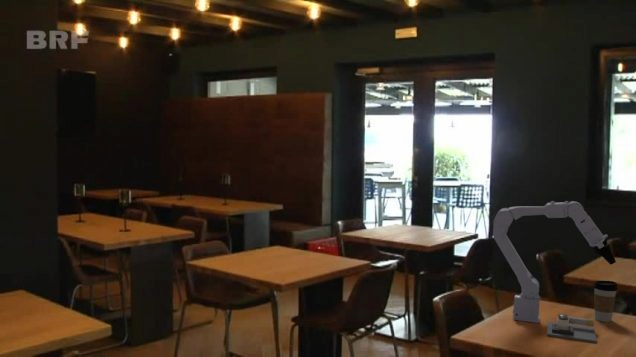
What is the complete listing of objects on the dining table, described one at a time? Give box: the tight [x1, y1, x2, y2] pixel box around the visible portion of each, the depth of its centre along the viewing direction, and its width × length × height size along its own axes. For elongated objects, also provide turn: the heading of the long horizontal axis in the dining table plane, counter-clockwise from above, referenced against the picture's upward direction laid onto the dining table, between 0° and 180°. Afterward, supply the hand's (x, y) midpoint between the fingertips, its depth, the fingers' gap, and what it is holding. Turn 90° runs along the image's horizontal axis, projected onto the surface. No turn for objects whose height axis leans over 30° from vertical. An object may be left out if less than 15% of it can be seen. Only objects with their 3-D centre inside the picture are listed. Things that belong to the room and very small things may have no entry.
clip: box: [557, 313, 595, 328], centre depth 225 cm, size 12×3×2 cm, turn 69°
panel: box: [546, 320, 598, 344], centre depth 221 cm, size 16×16×2 cm
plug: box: [555, 315, 570, 331], centre depth 220 cm, size 5×5×5 cm
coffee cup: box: [593, 280, 618, 323], centre depth 238 cm, size 8×8×15 cm
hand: (612, 261), depth 224 cm, fingers open, 7 cm apart
